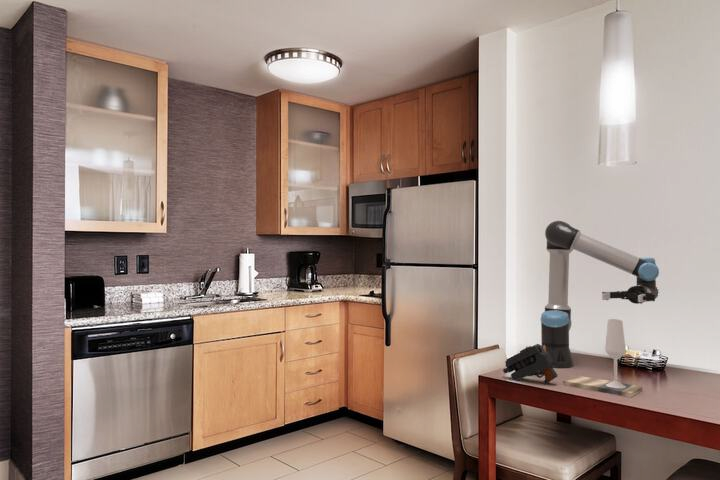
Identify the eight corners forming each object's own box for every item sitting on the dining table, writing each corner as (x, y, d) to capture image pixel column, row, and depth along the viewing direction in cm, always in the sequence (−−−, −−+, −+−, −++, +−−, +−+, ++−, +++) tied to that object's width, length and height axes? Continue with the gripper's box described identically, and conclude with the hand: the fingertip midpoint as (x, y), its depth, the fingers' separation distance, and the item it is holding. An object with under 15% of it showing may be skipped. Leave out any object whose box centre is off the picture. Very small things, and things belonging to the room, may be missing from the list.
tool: (557, 379, 192) (537, 342, 197) (514, 397, 202) (496, 362, 207) (562, 376, 197) (542, 340, 202) (520, 394, 207) (501, 359, 212)
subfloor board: (563, 384, 196) (563, 380, 196) (576, 379, 204) (576, 375, 204) (630, 397, 179) (630, 392, 179) (642, 390, 187) (642, 386, 187)
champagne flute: (630, 387, 185) (629, 320, 186) (614, 388, 184) (613, 321, 184) (617, 383, 192) (616, 318, 192) (601, 384, 190) (600, 319, 191)
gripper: (671, 305, 212) (655, 309, 197) (608, 301, 230) (589, 304, 215) (671, 286, 212) (654, 289, 198) (608, 284, 230) (589, 286, 216)
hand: (620, 297), depth 206 cm, fingers open, 13 cm apart
